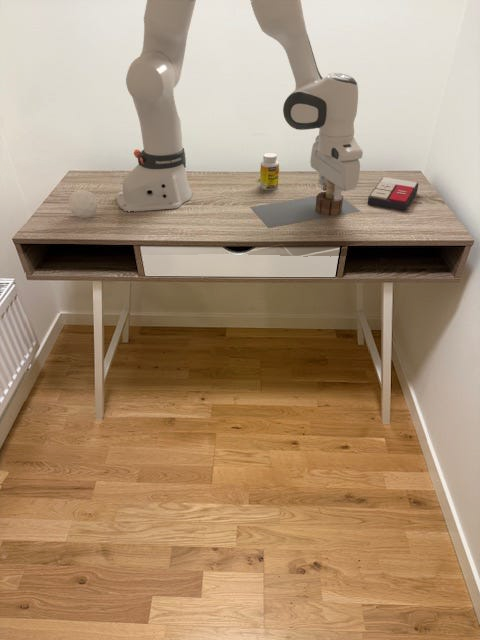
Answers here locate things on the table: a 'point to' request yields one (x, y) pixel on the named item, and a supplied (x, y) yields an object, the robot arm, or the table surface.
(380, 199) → the calculator
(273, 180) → the supplement bottle
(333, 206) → the bead
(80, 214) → the geometric ball
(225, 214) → the table surface
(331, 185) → the dowel
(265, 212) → the felt mat
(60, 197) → the table surface
